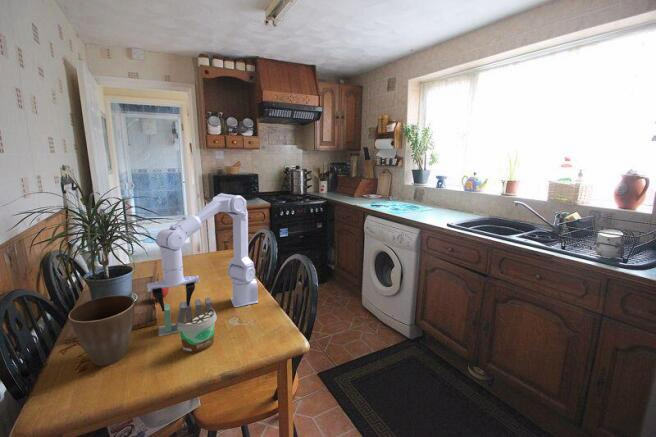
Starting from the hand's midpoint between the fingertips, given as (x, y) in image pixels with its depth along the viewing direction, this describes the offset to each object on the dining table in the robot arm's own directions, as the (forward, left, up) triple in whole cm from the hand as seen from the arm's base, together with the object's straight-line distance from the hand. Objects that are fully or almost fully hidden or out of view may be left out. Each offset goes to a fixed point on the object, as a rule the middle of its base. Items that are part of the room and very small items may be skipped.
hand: (175, 307), depth 100 cm
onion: (+5, -30, -10) cm, 32 cm away
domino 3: (-4, -5, -10) cm, 12 cm away
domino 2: (-1, -5, -10) cm, 11 cm away
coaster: (+3, -5, -10) cm, 11 cm away
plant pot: (+18, +4, -10) cm, 21 cm away
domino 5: (-10, -5, -10) cm, 15 cm away
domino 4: (-7, -5, -10) cm, 13 cm away
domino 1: (+3, -5, -10) cm, 11 cm away
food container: (-7, +10, -10) cm, 16 cm away
